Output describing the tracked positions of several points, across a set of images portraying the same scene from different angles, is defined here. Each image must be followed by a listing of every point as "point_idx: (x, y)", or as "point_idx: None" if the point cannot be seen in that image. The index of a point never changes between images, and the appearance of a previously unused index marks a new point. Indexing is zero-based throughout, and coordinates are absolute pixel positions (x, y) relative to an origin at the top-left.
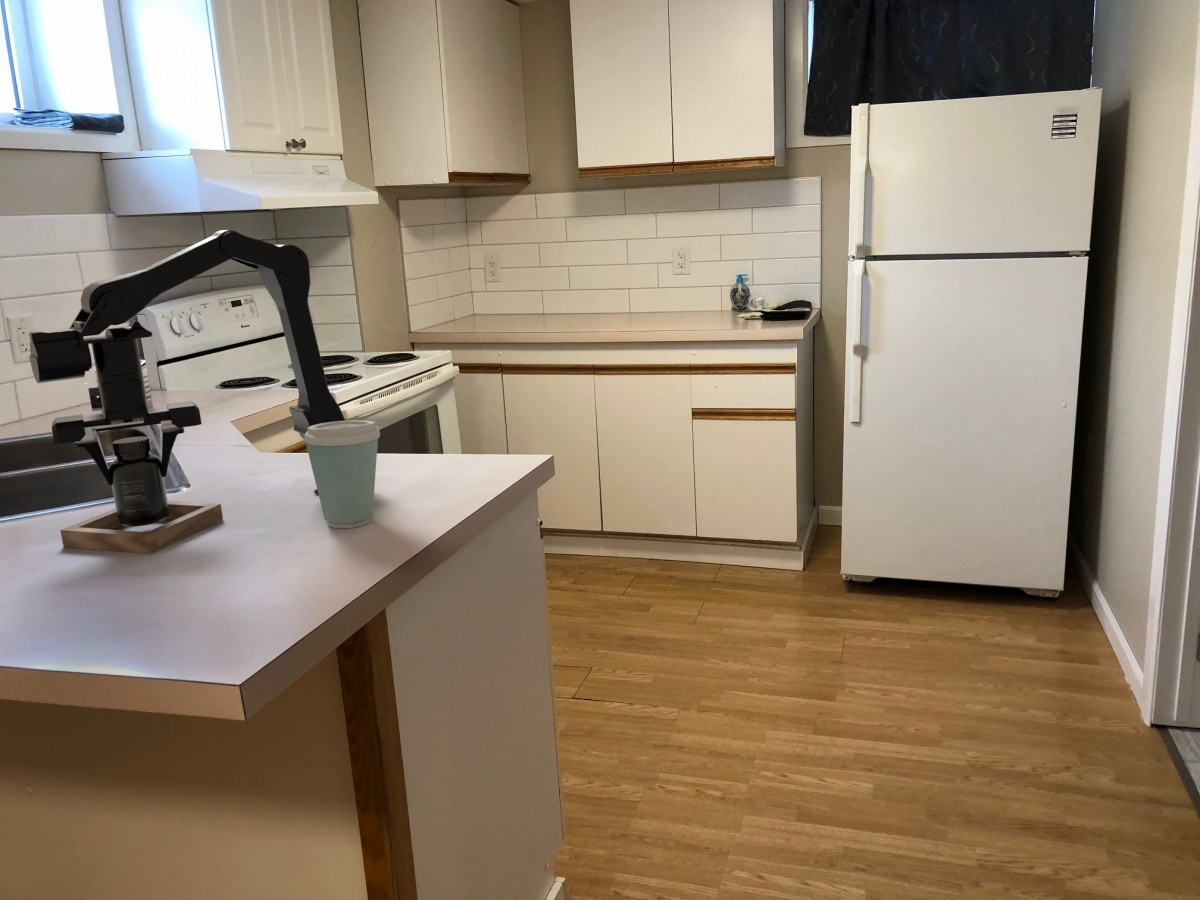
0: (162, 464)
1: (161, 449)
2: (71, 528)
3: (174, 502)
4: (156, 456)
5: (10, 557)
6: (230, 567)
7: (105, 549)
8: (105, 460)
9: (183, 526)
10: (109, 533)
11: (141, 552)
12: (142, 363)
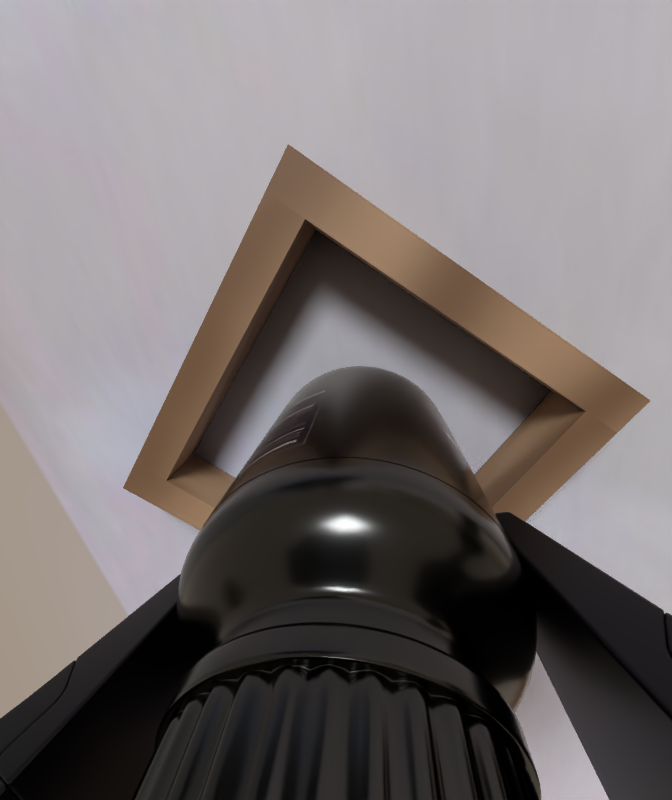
0: (540, 651)
1: (631, 797)
2: (152, 485)
3: (461, 293)
4: (527, 642)
5: (53, 486)
6: (567, 727)
7: None
8: (148, 739)
9: None
10: None
11: None
12: None
